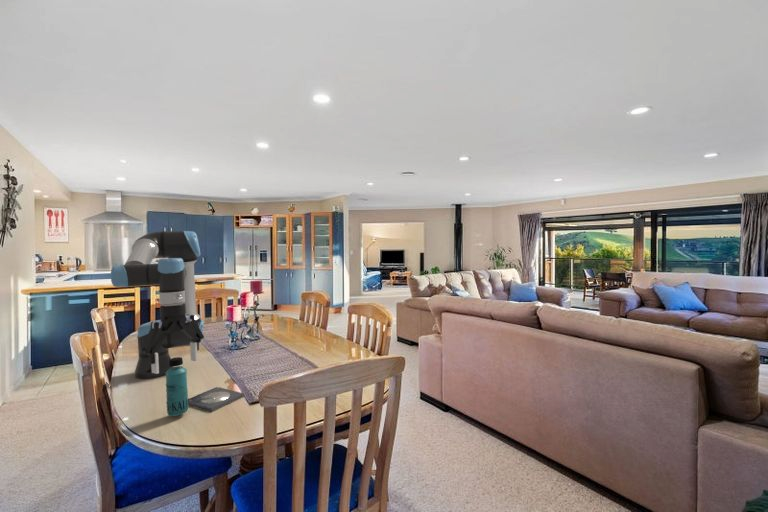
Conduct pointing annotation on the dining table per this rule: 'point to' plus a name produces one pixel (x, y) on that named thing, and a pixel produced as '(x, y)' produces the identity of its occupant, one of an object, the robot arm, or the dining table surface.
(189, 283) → the robot arm
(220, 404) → the motor plate
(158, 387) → the dining table surface
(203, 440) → the dining table surface
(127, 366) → the dining table surface
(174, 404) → the beverage bottle
